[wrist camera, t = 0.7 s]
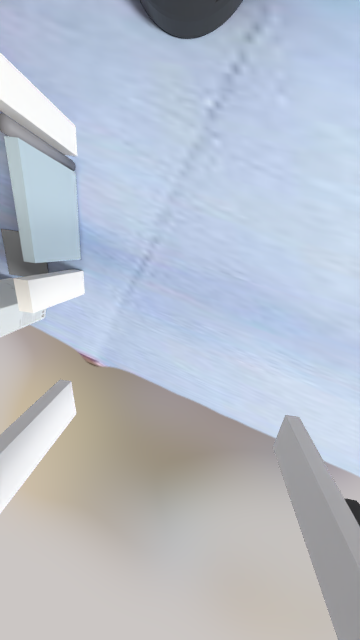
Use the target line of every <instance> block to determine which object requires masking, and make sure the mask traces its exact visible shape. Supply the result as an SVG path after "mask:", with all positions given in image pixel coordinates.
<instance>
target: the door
mask: <svg viewBox="0 0 360 640" xmlns="http://www.w3.org/2000/svg"><path fill="white" fill-rule="evenodd" d="M0 131H1V132H2V133H4V134H6V135H7V136H4V140H5V147H6V153H7V159H8V165H9V172H10V178H11V184H12V191H13V197H14V203H15V209H16V216H17V222H18V228H19V235H20V241H21V247H22V254H23V260H24V262H31V263H43V262H56V261H68V260H81V256H80V239H79V221H78V203H77V186H76V173H75V172H74V170H75V163H74V162H73V161H72V160H71V159H69V158H68V157H66V156H65V155H63V154H62V153H61V152H59V151H58V150H56V149H55V148H53V147H52V146H50V145H49V144H47V143H46V142H44V141H43V140H42V139H40V138H39V137H37V136H36V135H34V134H33V133H31V132H30V131H28V130H27V129H25V128H24V127H23V126H21V125H20V124H18V123H17V122H15V121H14V120H12V119H11V118H9V117H8V116H6V115H5V114H0ZM8 136H9V137H8Z"/></svg>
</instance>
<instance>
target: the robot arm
mask: <svg viewBox="0 0 360 640" xmlns="http://www.w3.org/2000/svg"><path fill="white" fill-rule="evenodd" d="M140 1H141V3H142V5H143V7H144V9H145V10H146V12H147V13H148V15H149V16H150V17H151V19H152V20H153V21H154V22H155V23H156V24H157V25H158V26H159V27H160V28H162V29H163V30H164V31H166V32H168V33H169V34H172V35H174V36H177V37H182V38H195V37H200V36H203V35H206V34H208V33H210V32H212V31H214V30H215V29H217V28H218V27H220V26H221V25H222V24H223V23H224V22H226V21H227V20H228V19H229V18H230V17H231V15H232V14H233V13H234V12H235V11H236V9H237V8H238V7H239V5H240V4H241V2H242V1H243V0H140ZM75 415H76V409H75V402H74V396H73V390H72V383H71V381H66V380H59V381H58V382H57V383H56V384H55V385H53V386H52V387H51V388H50V389H49V390H48V391H47V392H46V393H45V394H44V395H43V396H42V397H41V398H40V399H38V400H37V401H36V402H35V403H34V404H33V405H32V406H31V407H30V408H29V409H28V410H27V411H26V412H24V413H23V414H22V415H21V416H20V417H19V418H18V419H17V420H16V421H15V422H14V423H13V424H11V425H10V427H8V428H7V429H6V430H5V431H4V432H3V433H2V434H1V435H0V513H1V512H2V511H3V509H4V508H5V507H6V505H7V504H8V503H9V501H10V500H11V499H12V498H13V496H14V495H15V494H16V492H17V491H18V490H19V488H20V487H21V486H22V484H23V483H24V482H25V480H26V479H27V478H28V476H29V475H30V474H31V473H32V471H33V470H34V469H35V467H36V466H37V465H38V463H39V462H40V461H41V459H42V458H43V457H44V455H45V454H46V453H47V452H48V450H49V449H50V447H51V446H52V445H53V444H54V442H55V441H56V440H57V438H58V437H59V436H60V434H61V433H62V432H63V430H64V429H65V428H66V427H67V425H68V424H69V423H70V421H71V420H72V419H73V417H74V416H75ZM273 449H274V452H275V454H276V458H277V461H278V464H279V467H280V470H281V473H282V476H283V479H284V482H285V485H286V488H287V491H288V493H289V496H290V499H291V502H292V505H293V508H294V511H295V514H296V517H297V520H298V523H299V526H300V529H301V532H302V535H303V538H304V541H305V543H306V546H307V549H308V552H309V555H310V558H311V561H312V564H313V567H314V570H315V573H316V576H317V579H318V582H319V585H320V587H321V591H322V594H323V597H324V600H325V602H326V605H327V608H328V611H329V614H330V617H331V620H332V623H333V626H334V629H335V632H336V635H337V637H338V640H360V504H359V503H358V502H357V501H355V500H350V499H345V498H344V497H343V496H342V494H341V492H340V490H339V488H338V487H337V485H336V483H335V481H334V479H333V478H332V476H331V474H330V472H329V470H328V468H327V467H326V465H325V463H324V461H323V459H322V457H321V456H320V454H319V452H318V450H317V448H316V447H315V445H314V443H313V441H312V439H311V438H310V436H309V434H308V432H307V430H306V429H305V427H304V425H303V423H302V421H301V419H300V418H299V417H296V416H289V415H285V417H284V420H283V422H282V425H281V427H280V430H279V433H278V435H277V438H276V440H275V443H274V446H273Z"/></svg>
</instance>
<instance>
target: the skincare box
mask: <svg viewBox="0 0 360 640" xmlns="http://www.w3.org/2000/svg"><path fill="white" fill-rule="evenodd" d="M46 309H47V308H46ZM46 309H43V310H40V311H38V312H35V313H29V312H23V311H19V307H18V302H17V296H16V291H15V285H14V280H13V278H6V279H0V337H2V336H5V335H7V334H9V333H11V332H14V331H16V330H18V329H21V328H23V327H25V326H28V325H30V324H33V323H35V322H37V321H40V320H42V319H44V318H45V316H46Z"/></svg>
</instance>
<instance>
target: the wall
mask: <svg viewBox="0 0 360 640" xmlns="http://www.w3.org/2000/svg"><path fill="white" fill-rule="evenodd" d="M0 111H2V112H3V113H4V114H6V115H7V116H9V117H10V118H12V119H13V120H15V121H16V122H18V123H19V124H20V125H22V126H23V127H25V128H26V129H28V130H29V131H31V132H32V133H34V134H35V135H36V136H38V137H39V138H41V139H42V140H44V141H45V142H47V143H48V144H50V145H51V146H52V147H54V148H55V149H57V150H58V151H60V152H61V153H63V154H64V155H69V156H77V142H76V126H75V125H74V124H73V123H72V122H71V121H70V120H69V119H68V118H67V117H66V116H65V115H64V114H63V113H62V112H61V111H60V110H59V109H58V108H56V107H55V106H54V105H53V104H52V103H51V102H50V101H49V100H48V99H47V98H46V97H45V96H44V95H43V94H42V93H41V92H40V91H39V90H38V89H37V88H36V87H35V86H34V85H33V84H32V83H31V82H30V81H29V80H28V79H27V78H26V77H25V76H24V75H23V74H22V73H21V72H19V71H18V70H17V69H16V68H15V67H14V66H13V65H12V64H11V63H10V62H9V61H8V60H7V59H6V58H5V57H4V56H3V55H2V54H1V53H0ZM13 280H14V285H15V291H16V296H17V302H18V307H19V311H23V312H29V313H35V312H38V311H40V310H43V309H46V308H48V307H51V306H54V305H56V304H59V303H62V302H65V301H67V300H70V299H73V298H75V297H78V296H81V295H83V294H85V293H84V274H83V271H81V270H74V269H72V270H65V271H58V272H52V273H45V274H38V275H32V276H25V277H18V278H13Z"/></svg>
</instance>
